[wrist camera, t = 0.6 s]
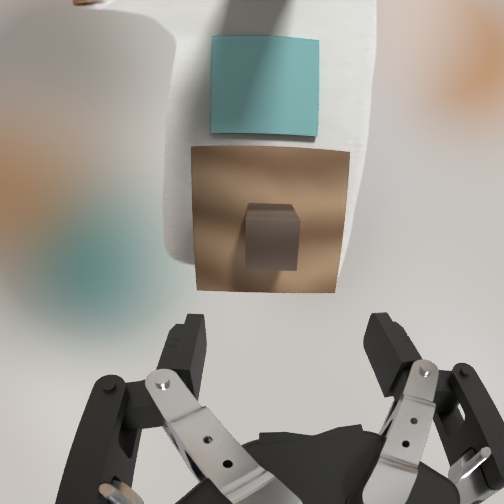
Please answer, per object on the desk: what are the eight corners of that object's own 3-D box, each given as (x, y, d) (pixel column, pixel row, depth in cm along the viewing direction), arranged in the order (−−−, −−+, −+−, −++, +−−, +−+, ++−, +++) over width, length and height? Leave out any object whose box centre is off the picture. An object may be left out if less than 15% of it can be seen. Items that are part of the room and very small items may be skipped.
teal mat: (213, 38, 32) (212, 36, 32) (317, 42, 33) (318, 40, 32) (211, 133, 38) (210, 133, 38) (316, 136, 39) (317, 136, 38)
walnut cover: (198, 146, 28) (172, 147, 19) (339, 151, 28) (374, 155, 19) (202, 275, 33) (184, 322, 24) (327, 278, 33) (349, 325, 24)
